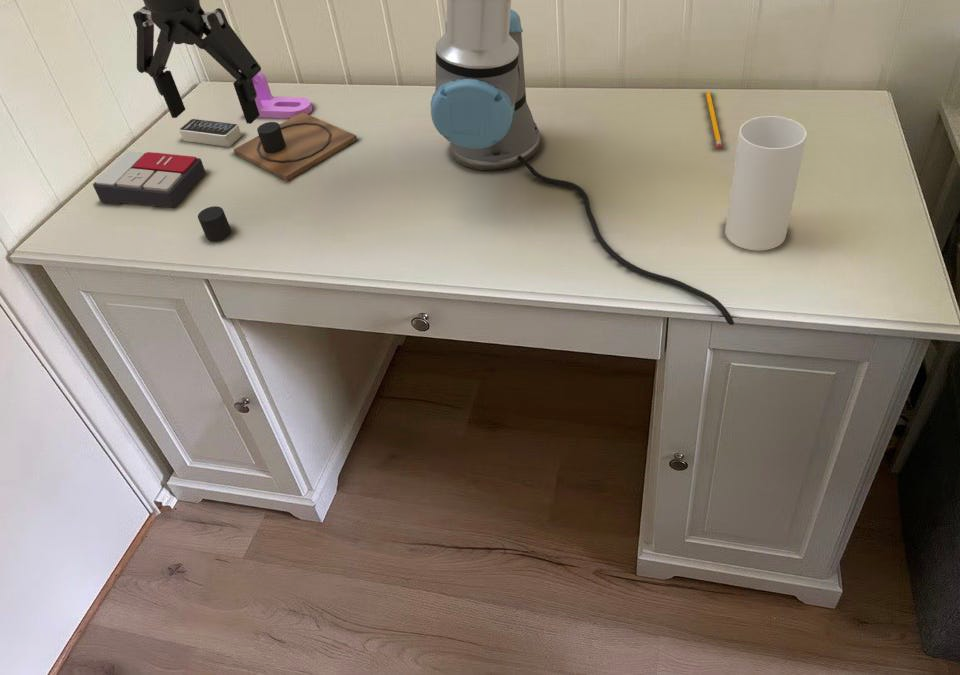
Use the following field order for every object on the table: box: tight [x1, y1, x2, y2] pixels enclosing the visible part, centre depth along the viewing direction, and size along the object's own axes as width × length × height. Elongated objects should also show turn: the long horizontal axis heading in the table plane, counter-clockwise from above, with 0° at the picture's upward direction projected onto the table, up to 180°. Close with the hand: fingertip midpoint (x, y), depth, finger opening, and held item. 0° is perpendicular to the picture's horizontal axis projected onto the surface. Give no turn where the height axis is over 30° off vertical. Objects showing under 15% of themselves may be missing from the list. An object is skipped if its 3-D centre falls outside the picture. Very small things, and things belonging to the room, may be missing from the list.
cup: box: [724, 115, 808, 252], centre depth 106 cm, size 8×8×16 cm
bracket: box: [252, 71, 313, 119], centre depth 151 cm, size 13×6×7 cm, turn 76°
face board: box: [233, 112, 358, 182], centre depth 142 cm, size 16×16×1 cm
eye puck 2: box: [256, 121, 286, 153], centre depth 140 cm, size 4×4×4 cm
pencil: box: [705, 91, 723, 150], centre depth 134 cm, size 1×18×1 cm, turn 174°
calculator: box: [92, 150, 206, 209], centre depth 136 cm, size 11×4×15 cm
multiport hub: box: [178, 118, 243, 148], centre depth 147 cm, size 4×11×2 cm, turn 68°
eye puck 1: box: [197, 205, 232, 243], centre depth 124 cm, size 4×4×4 cm
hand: (215, 116), depth 122 cm, fingers open, 13 cm apart
